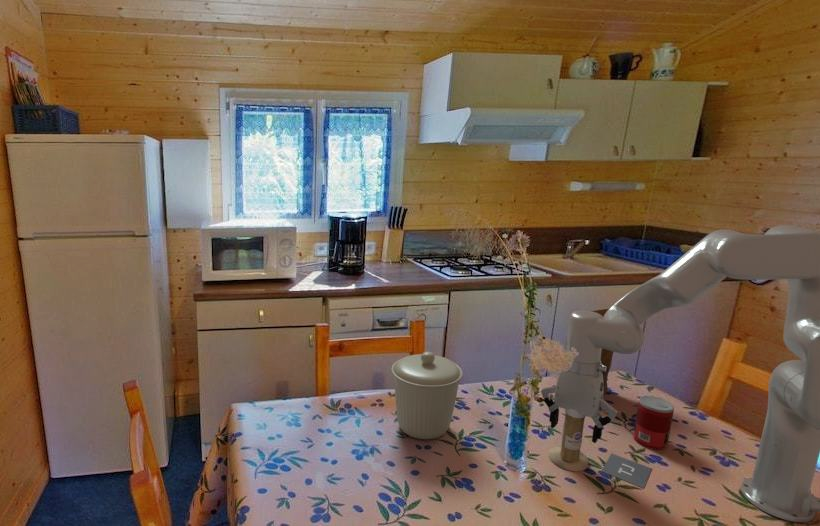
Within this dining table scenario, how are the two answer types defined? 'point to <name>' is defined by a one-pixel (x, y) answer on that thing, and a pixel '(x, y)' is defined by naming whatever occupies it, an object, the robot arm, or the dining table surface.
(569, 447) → the sprinkles bottle
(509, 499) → the dining table surface
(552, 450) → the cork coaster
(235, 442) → the dining table surface
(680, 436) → the dining table surface
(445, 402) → the canister
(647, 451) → the dining table surface
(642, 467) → the tile
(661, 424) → the canned food
